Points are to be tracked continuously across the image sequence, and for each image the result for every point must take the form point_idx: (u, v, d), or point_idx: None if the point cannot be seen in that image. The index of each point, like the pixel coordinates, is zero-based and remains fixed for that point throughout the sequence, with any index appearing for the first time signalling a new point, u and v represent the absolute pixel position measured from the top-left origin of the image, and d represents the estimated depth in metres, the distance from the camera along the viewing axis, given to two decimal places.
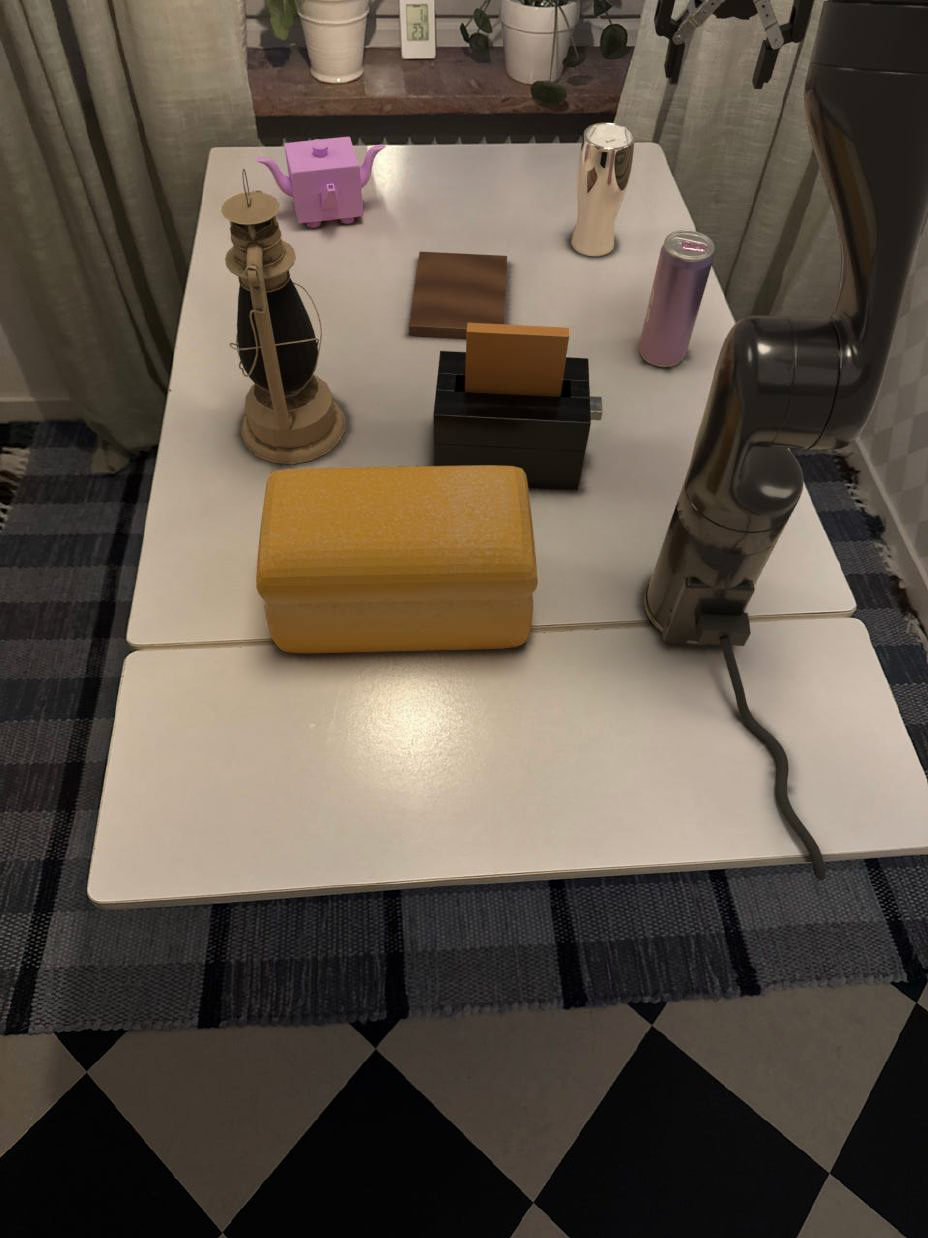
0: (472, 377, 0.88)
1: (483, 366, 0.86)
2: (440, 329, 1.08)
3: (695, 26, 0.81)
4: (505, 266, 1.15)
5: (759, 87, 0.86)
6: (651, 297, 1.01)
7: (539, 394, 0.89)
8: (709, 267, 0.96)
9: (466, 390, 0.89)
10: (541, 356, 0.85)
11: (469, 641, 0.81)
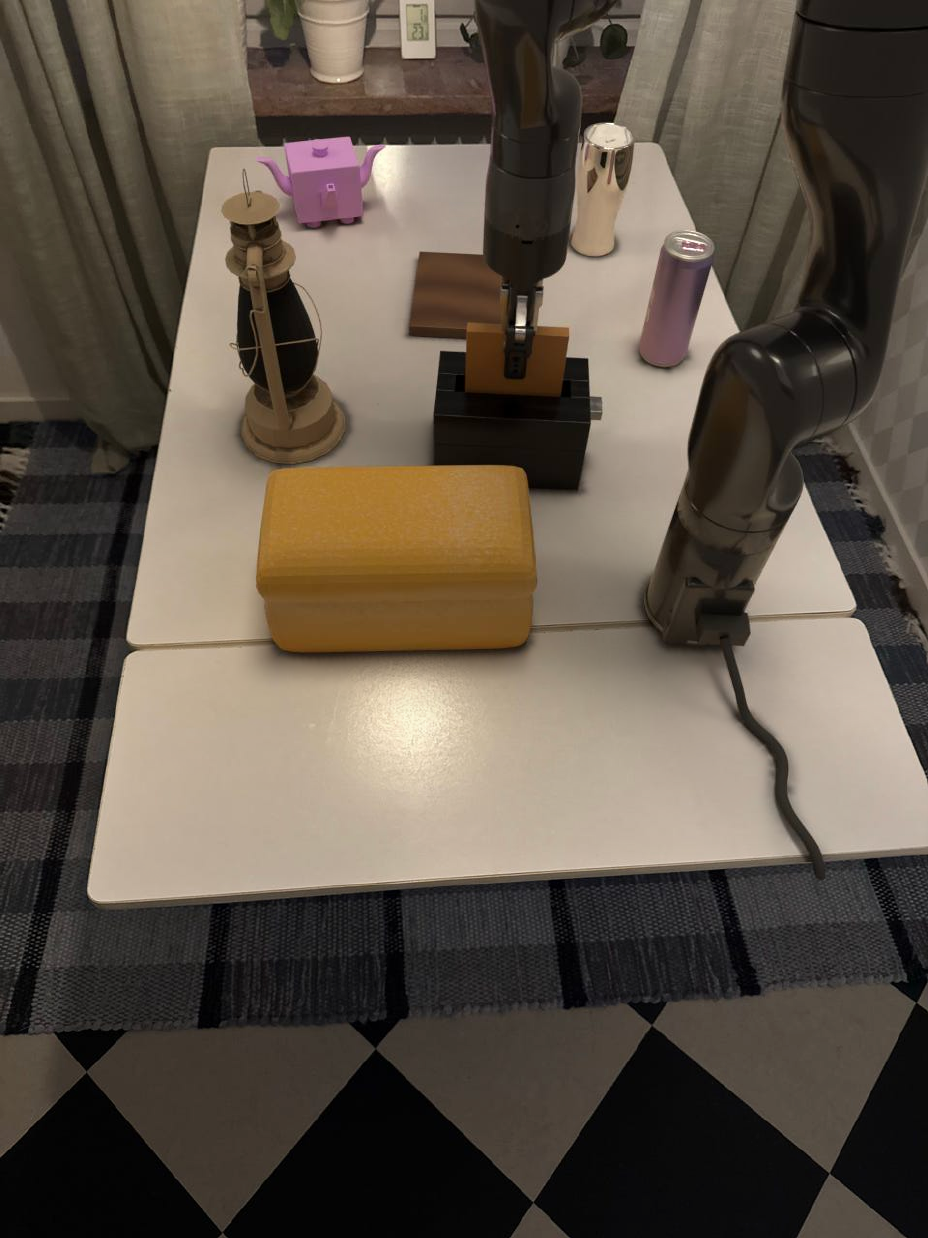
0: (472, 377, 0.88)
1: (483, 366, 0.86)
2: (440, 329, 1.08)
3: None
4: None
5: None
6: (651, 297, 1.01)
7: (539, 394, 0.89)
8: (709, 267, 0.96)
9: (466, 390, 0.89)
10: (541, 355, 0.85)
11: (469, 641, 0.81)
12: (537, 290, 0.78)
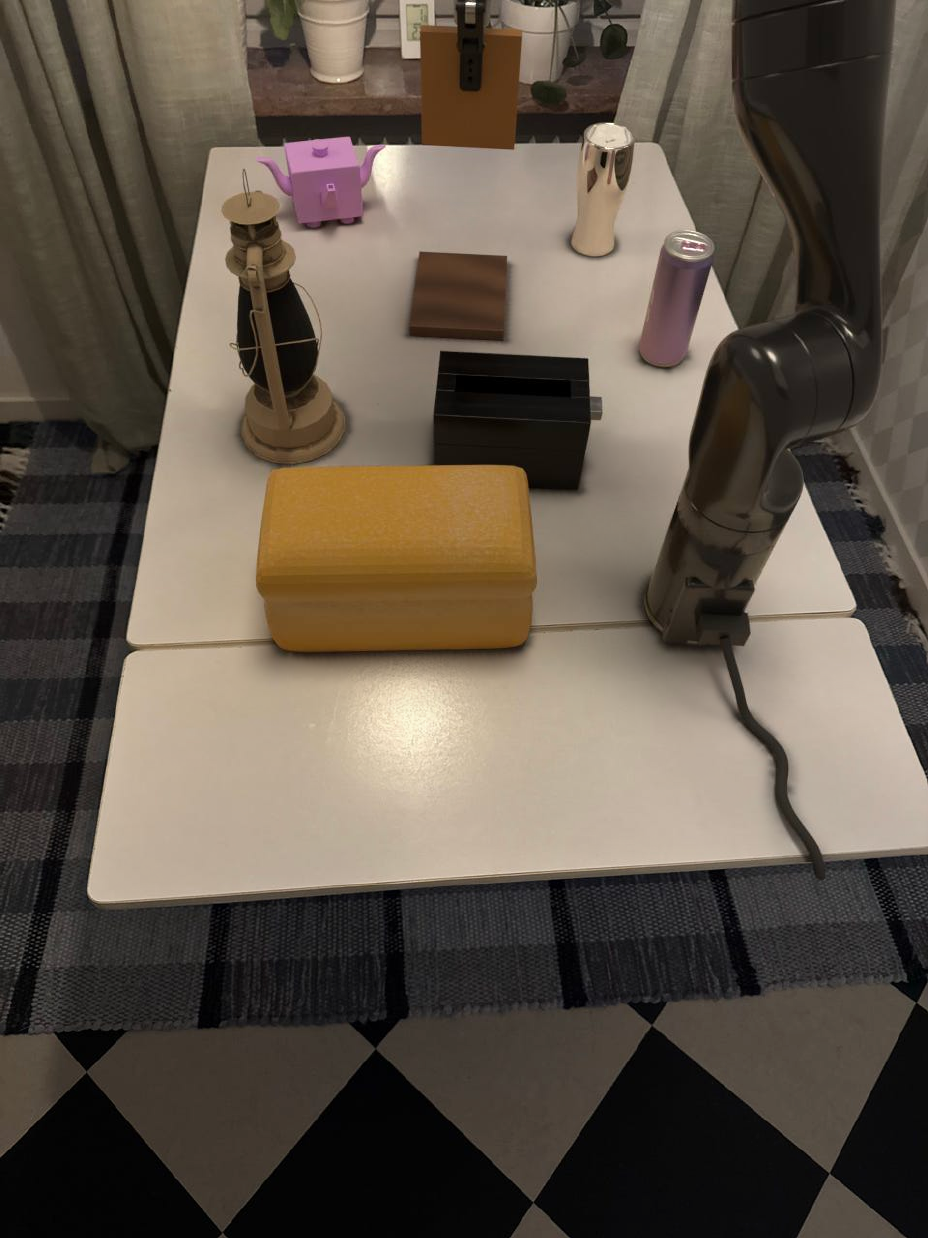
0: (428, 92, 0.88)
1: (438, 77, 0.87)
2: (440, 329, 1.08)
3: None
4: (505, 266, 1.15)
5: None
6: (651, 297, 1.01)
7: (495, 113, 0.89)
8: (709, 267, 0.96)
9: (422, 109, 0.89)
10: (496, 62, 0.85)
11: (469, 640, 0.81)
12: None
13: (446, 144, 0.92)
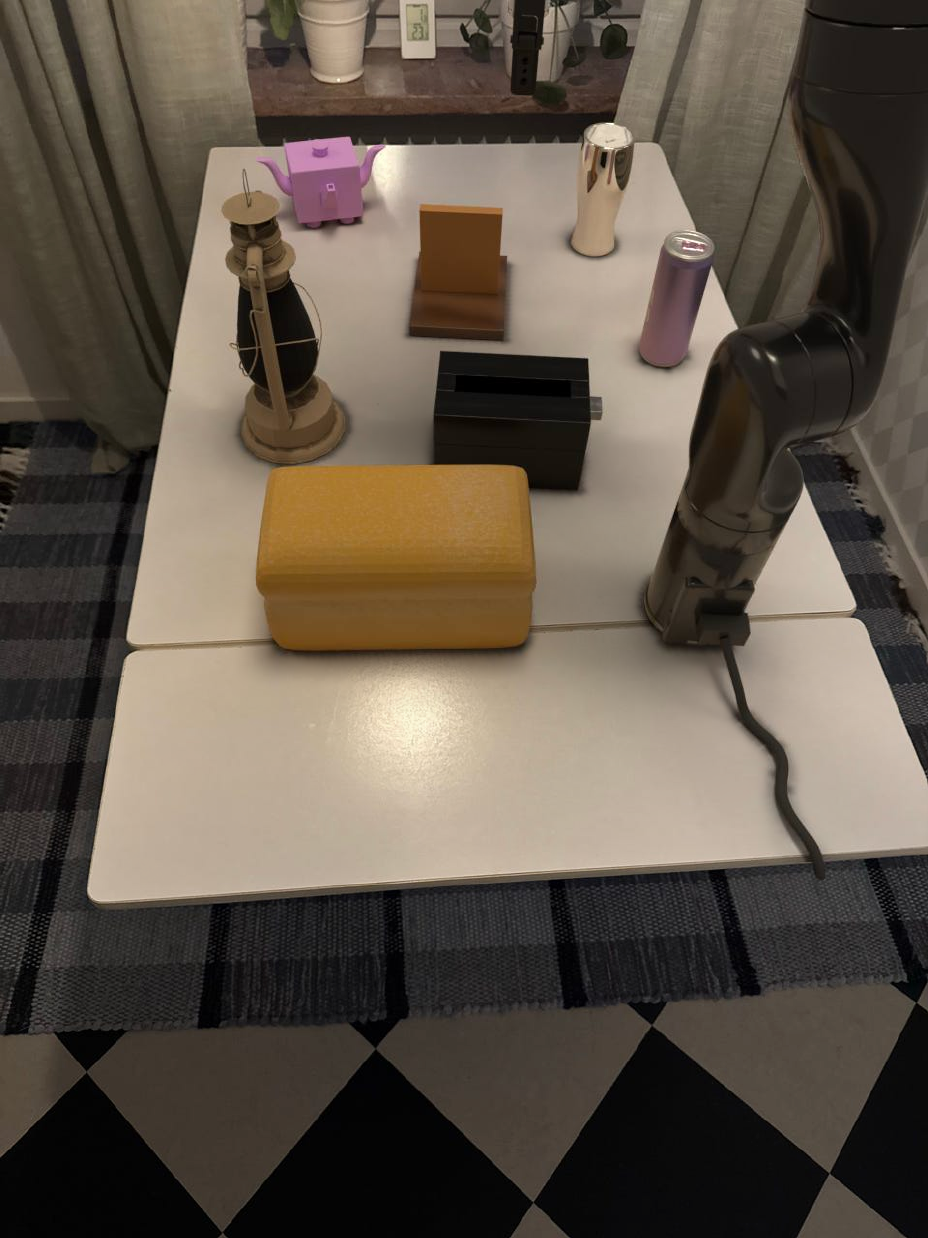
0: (426, 252, 1.07)
1: (434, 242, 1.06)
2: (440, 329, 1.08)
3: None
4: (505, 266, 1.15)
5: None
6: (651, 297, 1.01)
7: (481, 268, 1.08)
8: (709, 267, 0.96)
9: (421, 265, 1.08)
10: (481, 232, 1.04)
11: (468, 640, 0.81)
12: None
13: (441, 290, 1.11)
